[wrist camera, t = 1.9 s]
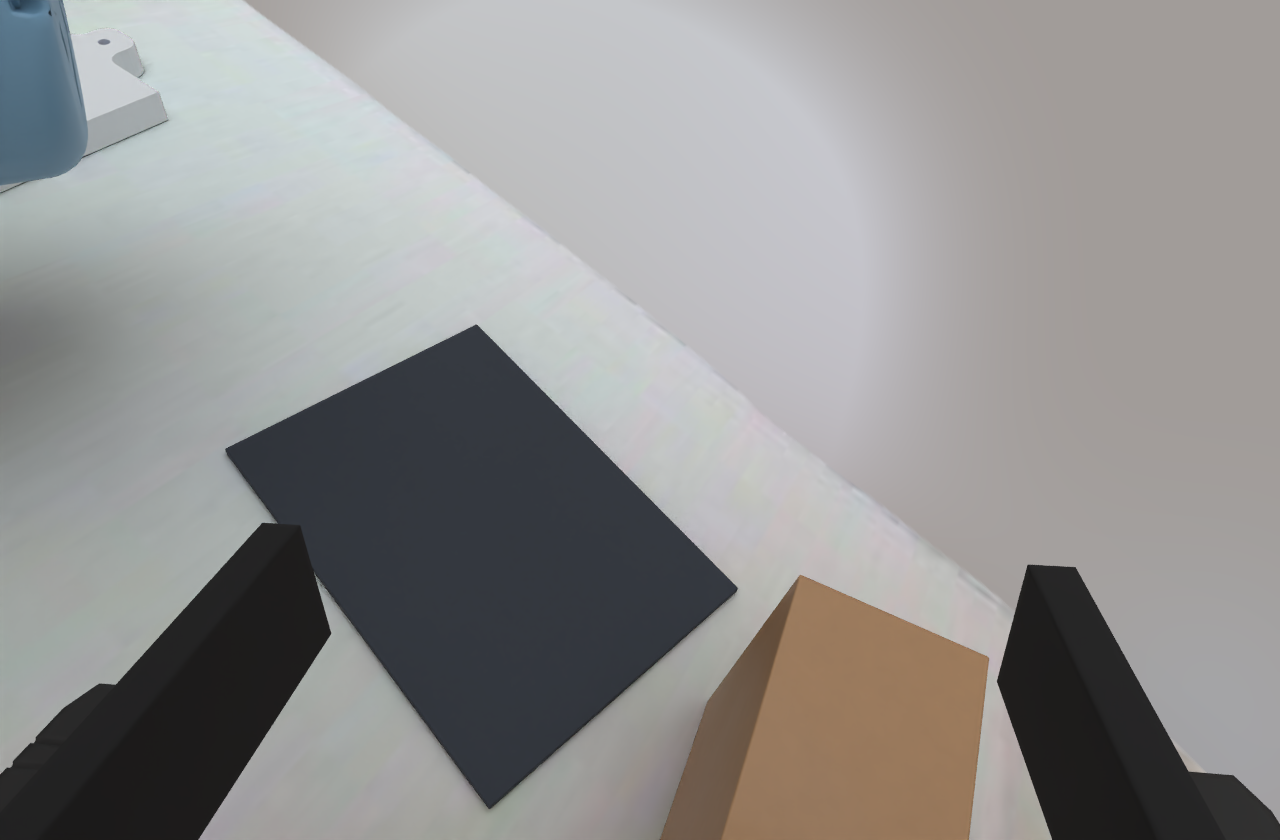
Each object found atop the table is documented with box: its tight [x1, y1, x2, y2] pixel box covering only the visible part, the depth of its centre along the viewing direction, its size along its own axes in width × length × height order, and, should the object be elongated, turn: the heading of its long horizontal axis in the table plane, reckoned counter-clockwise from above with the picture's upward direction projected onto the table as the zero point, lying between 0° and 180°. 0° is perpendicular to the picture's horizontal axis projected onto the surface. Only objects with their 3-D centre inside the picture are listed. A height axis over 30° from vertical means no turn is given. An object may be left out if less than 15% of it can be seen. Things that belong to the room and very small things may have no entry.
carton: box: [660, 575, 989, 840], centre depth 26 cm, size 6×8×12 cm
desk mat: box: [225, 325, 738, 809], centre depth 37 cm, size 20×14×1 cm
